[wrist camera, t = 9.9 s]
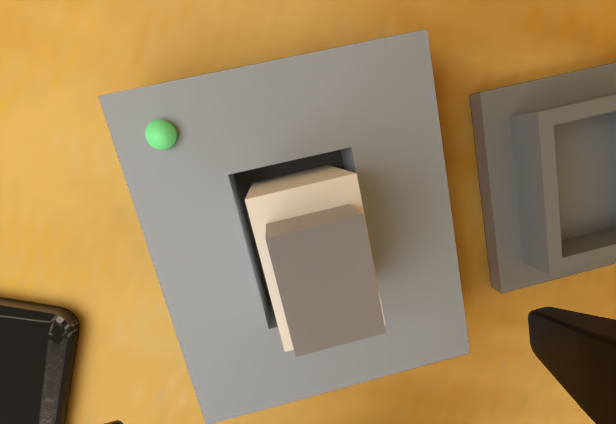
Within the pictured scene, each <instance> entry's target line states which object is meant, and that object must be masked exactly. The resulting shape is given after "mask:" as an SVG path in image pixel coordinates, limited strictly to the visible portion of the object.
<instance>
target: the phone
mask: <svg viewBox="0 0 616 424" xmlns="http://www.w3.org/2000/svg"><path fill="white" fill-rule="evenodd" d="M78 336H79V322H78V319H77V317H76V316H75V315H74V314H73V313H72V312H71V311H69V310H68V309H65V308H62V307H57V306H51V305H45V304H39V303H33V302H26V301H20V300H14V299H8V298H2V297H0V424H65V420H66V414H67V407H68V401H69V394H70V388H71V381H72V375H73V368H74V362H75V355H76V349H77V342H78Z"/></svg>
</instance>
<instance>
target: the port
mask: <svg viewBox="0 0 616 424" xmlns="http://www.w3.org/2000/svg"><path fill="white" fill-rule="evenodd" d="M98 97H99V100H100V103H101V106H102V109H103V112H104V115H105V118H106V121H107V124H108V127H109V130H110V133H111V136H112V139H113V143H114V146H115V149H116V152H117V155H118V158H119V161H120V164H121V167H122V170H123V173H124V176H125V179H126V182H127V185H128V188H129V191H130V194H131V198H132V201H133V204H134V207H135V210H136V213H137V216H138V219H139V222H140V225H141V228H142V231H143V234H144V237H145V240H146V243H147V246H148V249H149V252H150V256H151V259H152V262H153V265H154V268H155V271H156V274H157V277H158V280H159V283H160V286H161V289H162V292H163V295H164V298H165V301H166V304H167V307H168V310H169V314H170V317H171V320H172V323H173V326H174V329H175V332H176V335H177V338H178V341H179V344H180V347H181V350H182V353H183V356H184V359H185V362H186V365H187V369H188V372H189V375H190V378H191V381H192V384H193V387H194V390H195V393H196V396H197V399H198V402H199V405H200V408H201V411H202V414H203V417H204V420H205V423H206V424H213V423H216V422H220V421H224V420H227V419H231V418H235V417H238V416H242V415H246V414H249V413H253V412H257V411H260V410H264V409H268V408H271V407H275V406H279V405H282V404H286V403H289V402H293V401H297V400H300V399H304V398H308V397H311V396H315V395H319V394H322V393H326V392H330V391H333V390H337V389H341V388H344V387H348V386H352V385H355V384H359V383H362V382H366V381H370V380H373V379H377V378H381V377H384V376H388V375H392V374H395V373H399V372H403V371H406V370H410V369H414V368H417V367H421V366H425V365H428V364H432V363H435V362H439V361H443V360H446V359H450V358H454V357H457V356H461V355H465V354H468V353H470V348H469V341H468V333H467V326H466V318H465V310H464V303H463V295H462V288H461V280H460V273H459V265H458V258H457V250H456V243H455V235H454V227H453V220H452V212H451V205H450V197H449V190H448V182H447V175H446V167H445V160H444V152H443V144H442V137H441V129H440V122H439V114H438V107H437V99H436V92H435V84H434V77H433V69H432V61H431V54H430V46H429V39H428V31H427V29H425V30H420V31H415V32H410V33H405V34H400V35H395V36H390V37H386V38H381V39H376V40H371V41H366V42H361V43H356V44H351V45H346V46H341V47H336V48H332V49H327V50H322V51H317V52H312V53H307V54H302V55H297V56H292V57H287V58H282V59H278V60H273V61H268V62H263V63H258V64H253V65H248V66H243V67H238V68H233V69H229V70H224V71H219V72H214V73H209V74H204V75H199V76H194V77H189V78H184V79H179V80H175V81H170V82H165V83H160V84H155V85H150V86H145V87H140V88H135V89H130V90H126V91H121V92H116V93H111V94H106V95H101V96H98ZM325 165H330V166H333V167H337V168H340V169H343V170H347V171H350V172H354V173H357V178H358V183H359V188H360V194H361V199H362V204H363V209H364V215H365V220H366V225H367V230H368V236H369V241H370V246H371V251H372V257H373V262H374V267H375V272H376V277H377V283H378V288H379V293H380V298H381V304H382V309H383V314H384V319H385V330H386V333H384V334H380V335H376V336H373V337H369V338H365V339H362V340H358V341H354V342H350V343H347V344H343V345H339V346H336V347H332V348H328V349H324V350H321V351H317V352H313V353H309V354H306V355H302V356H298V357H296V356H295V352H294V350H291V351H287V352H285V351H284V348H283V344H282V340H281V336H280V332H279V328H278V325H277V321H276V317H275V313H274V309H273V306H272V302H271V298H270V294H269V290H268V287H267V283H266V279H265V275H264V271H263V268H262V264H261V260H260V256H259V252H258V249H257V245H256V241H255V237H254V233H253V230H252V226H251V222H250V218H249V214H248V210H247V207H246V203H245V198H246V196H247V193H248V191H249V189H250V187H251V185H252V183H253V182H256V181H261V180H265V179H269V178H274V177H278V176H282V175H287V174H291V173H295V172H300V171H304V170H308V169H312V168H317V167H321V166H325Z"/></svg>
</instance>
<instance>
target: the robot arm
mask: <svg viewBox="0 0 616 424" xmlns="http://www.w3.org/2000/svg"><path fill="white" fill-rule="evenodd" d="M528 323H529V335H530V344H531V348H532V350H533V352H534V353H535V355H536V356H537V357H538V359H539V360H540V361H541V362H542V363H543V364H544V366H545V367H546V368H547V369H548V370H549V371H550V372H551V374H552V375H553V376H554V377H555V378H556V379H557V381H558V382H559V383H560V384H561V385H562V386H563V387H564V389H565V390H566V391H567V392H568V393H569V394H570V395H571V397H572V398H573V399H574V400H575V401H576V402H577V404H578V405H579V406H580V407H581V408H582V409H583V410H584V411H585V412H586V414H587V415H588V416H589V417H590V418H591V419H592V420H593V421H594V422H595V423H596V424H616V320H614V319H609V318H604V317H599V316H593V315H588V314H583V313H578V312H573V311H568V310H563V309H558V308H553V307H543V308H540V309H536V310H532V311H531V312H530V313H529V315H528ZM105 424H123V423H122V422H121V421H118V420H116V421H112V422H109V423H105Z"/></svg>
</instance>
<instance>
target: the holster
mask: <svg viewBox="0 0 616 424" xmlns="http://www.w3.org/2000/svg"><path fill="white" fill-rule="evenodd" d="M470 104H471V113H472V122H473V130H474V139H475V148H476V157H477V166H478V175H479V183H480V192H481V201H482V210H483V219H484V228H485V236H486V245H487V254H488V263H489V272H490V281H491V287H492V288H494V289H495V290H497V291H499V292H500V293H505V292H509V291H513V290H516V289H520V288H524V287H528V286H532V285H535V284H539V283H543V282H547V281H551V280H554V279H558V278H562V277H566V276H570V275H573V274H577V273H581V272H585V271H589V270H592V269H596V268H600V267H604V266H608V265H611V264H615V263H616V63H611V64H607V65H602V66H598V67H593V68H588V69H584V70H579V71H575V72H570V73H566V74H561V75H557V76H552V77H547V78H543V79H538V80H534V81H529V82H525V83H520V84H516V85H511V86H506V87H502V88H497V89H493V90H488V91H484V92H479V93H475V94H472V95H470Z"/></svg>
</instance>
